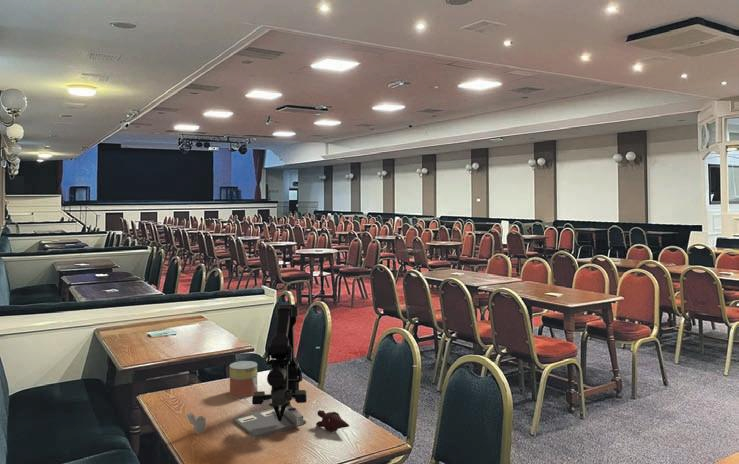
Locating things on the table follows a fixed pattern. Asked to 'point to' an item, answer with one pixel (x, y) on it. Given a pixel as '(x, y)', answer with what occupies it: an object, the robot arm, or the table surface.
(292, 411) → the cable arm
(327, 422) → the icecream
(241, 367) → the canned food
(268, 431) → the equipment panel
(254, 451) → the table surface
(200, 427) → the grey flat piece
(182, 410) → the table surface
